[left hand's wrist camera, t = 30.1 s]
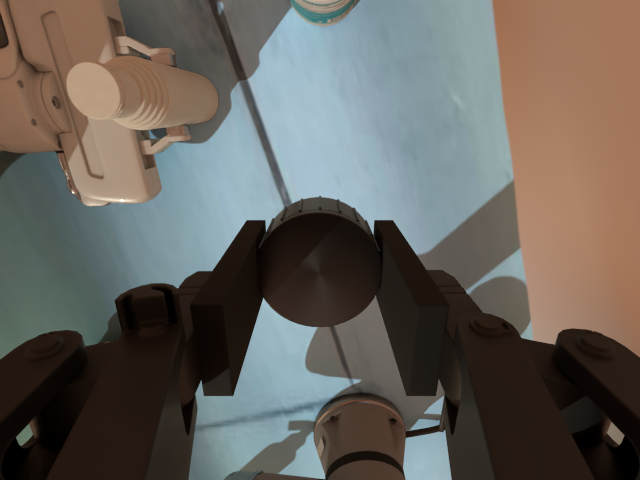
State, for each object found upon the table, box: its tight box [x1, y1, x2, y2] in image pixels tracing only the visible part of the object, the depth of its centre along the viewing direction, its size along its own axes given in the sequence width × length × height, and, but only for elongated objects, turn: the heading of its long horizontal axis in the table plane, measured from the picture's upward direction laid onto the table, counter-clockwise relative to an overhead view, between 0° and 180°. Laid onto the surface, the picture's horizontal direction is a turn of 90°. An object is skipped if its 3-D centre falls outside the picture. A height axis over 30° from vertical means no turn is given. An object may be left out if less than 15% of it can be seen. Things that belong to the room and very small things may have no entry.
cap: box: [257, 196, 382, 327], centre depth 13 cm, size 5×5×2 cm
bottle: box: [66, 56, 219, 130], centre depth 30 cm, size 5×5×19 cm
